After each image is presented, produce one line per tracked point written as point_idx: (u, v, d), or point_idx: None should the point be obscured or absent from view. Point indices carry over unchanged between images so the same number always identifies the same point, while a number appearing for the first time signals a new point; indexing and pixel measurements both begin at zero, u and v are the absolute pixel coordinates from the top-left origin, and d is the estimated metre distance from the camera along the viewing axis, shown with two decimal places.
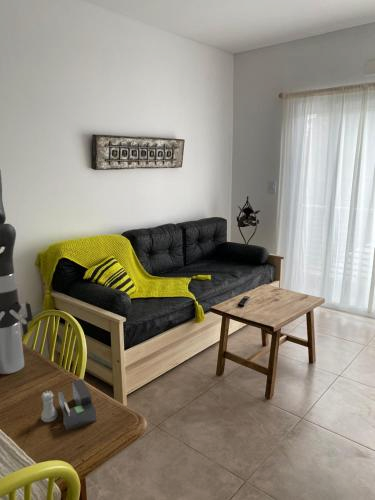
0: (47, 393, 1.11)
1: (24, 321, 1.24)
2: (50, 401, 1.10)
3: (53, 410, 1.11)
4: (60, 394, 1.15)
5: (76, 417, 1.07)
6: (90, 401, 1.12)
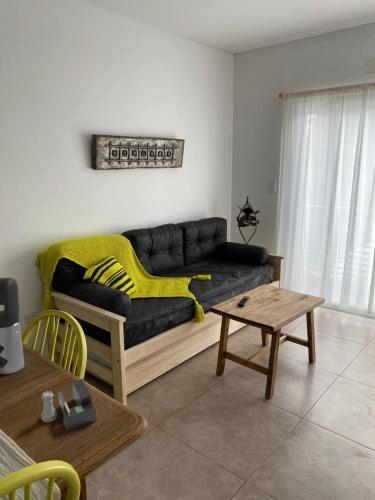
0: (47, 393, 1.11)
1: None
2: (50, 401, 1.10)
3: (53, 410, 1.11)
4: (60, 394, 1.15)
5: (76, 417, 1.07)
6: (90, 401, 1.12)
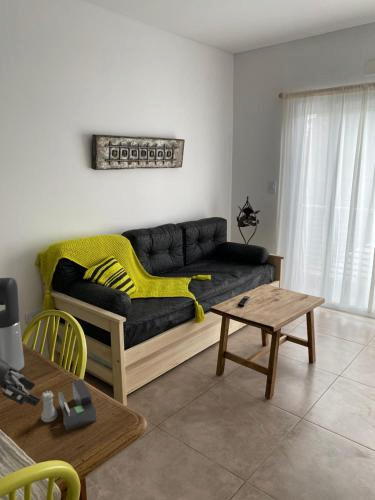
0: (47, 393, 1.11)
1: None
2: (50, 401, 1.10)
3: (53, 410, 1.11)
4: (60, 394, 1.15)
5: (76, 417, 1.07)
6: (90, 401, 1.12)
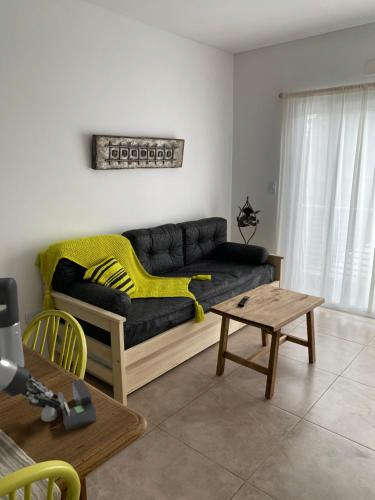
0: (47, 392, 1.11)
1: None
2: None
3: (53, 409, 1.11)
4: (60, 394, 1.15)
5: (76, 417, 1.07)
6: (90, 401, 1.12)
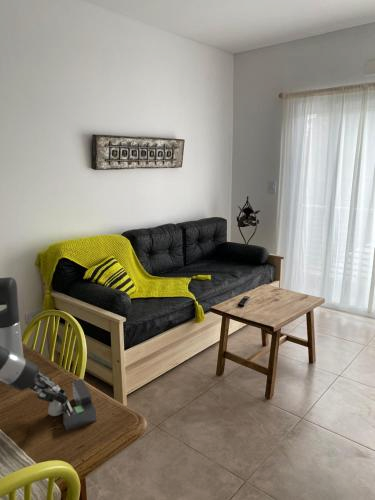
0: (54, 387, 1.12)
1: None
2: None
3: (60, 404, 1.12)
4: None
5: (76, 417, 1.07)
6: (90, 401, 1.12)
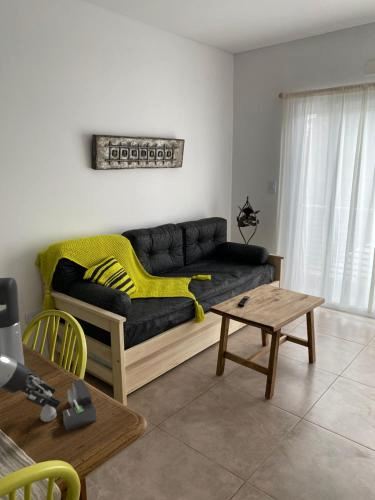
0: None
1: None
2: None
3: (52, 409, 1.11)
4: (69, 391, 1.17)
5: (76, 417, 1.07)
6: (90, 401, 1.12)
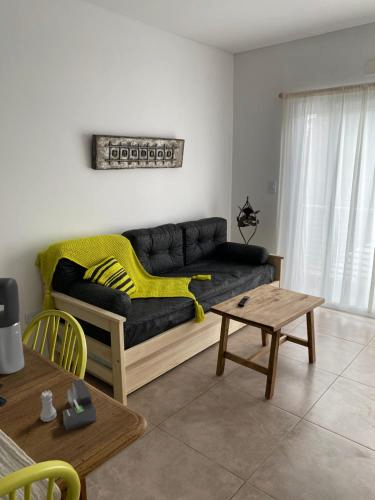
0: (46, 393, 1.11)
1: None
2: (49, 400, 1.10)
3: (52, 409, 1.11)
4: (69, 391, 1.17)
5: (76, 417, 1.07)
6: (90, 401, 1.12)
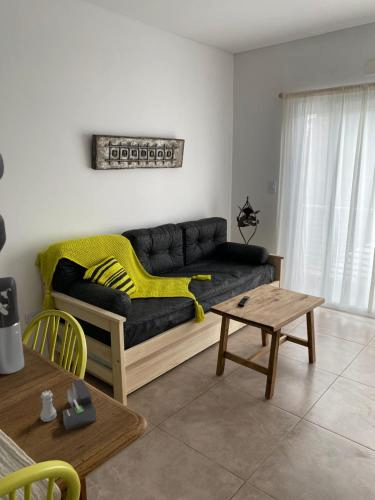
0: (46, 392, 1.11)
1: (5, 311, 1.04)
2: (49, 400, 1.10)
3: (52, 409, 1.11)
4: (69, 391, 1.17)
5: (76, 417, 1.07)
6: (90, 401, 1.12)
